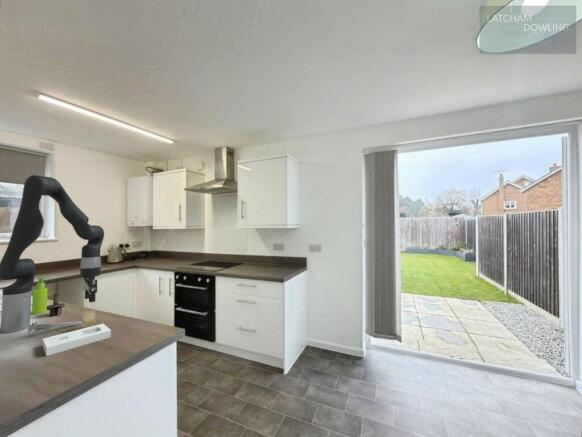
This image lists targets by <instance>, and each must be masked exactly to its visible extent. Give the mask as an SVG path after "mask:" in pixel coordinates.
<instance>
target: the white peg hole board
mask: <svg viewBox="0 0 582 437" xmlns="http://www.w3.org/2000/svg"><path fill="white" fill-rule="evenodd" d="M111 337H112V329H110V328H109V327H108V326H107V325H105V323H100V324H95V326H91V327H87V328H83V329H82V328H81V329H76V330H72V331H68V332H64V333H59V334H56V335H53V336H48V337H44V338H42V344H41V346H42V349H43V352H44V354H45V356H46V357H48V356H50V355H51V356H52V355H54V354H57V353H62V352H65V351H69V350H72V349H76V348H78V347H81V346H85V345H89V344H92V343H96V342H100V341H103V340H106V339H109V338H111Z"/></svg>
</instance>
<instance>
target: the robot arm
mask: <svg viewBox="0 0 582 437" xmlns="http://www.w3.org/2000/svg"><path fill="white" fill-rule="evenodd" d="M42 196H47V197H50V198H51V199H52V200H54V201H55V202H56V203H57V204H58V207H59V212H60V214H61V216H62V217H63V218H64V219H65V220H66V222H68V223H69V224H70V225H71V226H72V229H73V230H74V232H75V233H76V235H77V236H78V237H79V238H81V239H82V240H84V241H87V243H86V244H85V245H83V246H82V247H81V259H80V269H79V270H80V271H79V272H80V275H79V277H81V278H82V279H83V291H84V300H88V303H94V302H95V301H96V294H97V293H98V279H96V277H99V276H101V272H102V271H101V268H102V267H101V266H102V265H101V263H102V262H101V261H102V260H101V249H102V248H101V247H102V245H103V241H104V238H105V230H104V228H103V227H102V226H100V225H91V224H89V220H90V219H89V216H87V215H86V213H84V211H83V210H81V208H80V207H78V206H77V205H76V204H75V203H74V201H73V199H72V198H71V197H70V195H69V194H68V193H67V191H66V190H65V188H64V187H63V186H62V183H61V182H59V181H58V180H57V179H56V178H54V177H51V176H50V177H49V176H44V175H38V174H36V175H35V174H34V175H33V174H32V175H30V176H29V177H27V178H26V180H25V182H24V185H23V190H22V196H21V202H20V207H19V210H18V213H17V217H16V220H15V223H14V225H13V228H12V232H11V236H10V239H9V242H8V244H7V247H6V250H5V252H4V254H3V256H2V258H1V260H0V280H3V281H10V280H15V281H14V282H13V283H11V284H10V285H7V286H5V287H4V288H3V289H2V295H1V314H0V333H3V334H6V333H14V332H18V331H21V330H25V329H28V328H29V326H30V325H31V313H32V291H33V289H32V287H33V286H34V282H35V275H36V263H35V261H34V260H33V259H32V258H26V257H25V258H21V257H22V254H23V253H24V251H25V250H26V249H27V248H29V247H30V246H31V245H32V244H33V243H34V242H36V240H38V238H39V237H40V236H41V234H42V231H43V229H44V224H45V220H44V217H43V215H42V213H41V209H40V203H41V199H42Z"/></svg>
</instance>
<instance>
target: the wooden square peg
mask: <svg viewBox="0 0 582 437" xmlns="http://www.w3.org/2000/svg"><path fill="white" fill-rule="evenodd" d="M96 314H97V313H96V310H94V309H92V310H87V311H83V312H82V321H83V322H82V324H81V325H82V327H81V329H83V328H87V327H91V326H95V325H96Z"/></svg>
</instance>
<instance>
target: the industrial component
mask: <svg viewBox="0 0 582 437" xmlns="http://www.w3.org/2000/svg"><path fill="white" fill-rule="evenodd" d="M59 301H60V292H54V293H53V303H52V304H48V305H47V311H49V317H55V316H60V315H62V310H63V308H65V306H66V303H64V302H61V303H60V302H59Z"/></svg>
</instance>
